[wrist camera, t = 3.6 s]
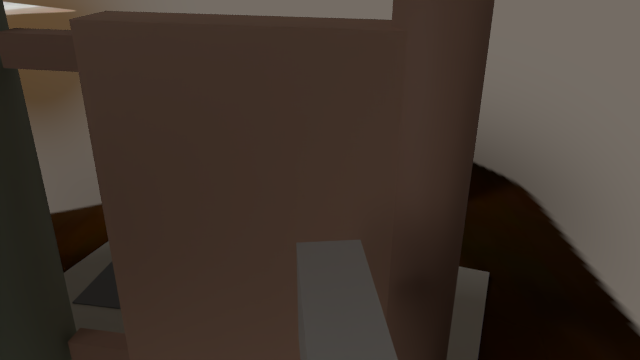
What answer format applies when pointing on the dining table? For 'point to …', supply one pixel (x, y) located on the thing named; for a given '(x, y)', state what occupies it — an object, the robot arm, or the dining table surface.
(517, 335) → the dining table surface
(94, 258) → the card
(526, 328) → the dining table surface
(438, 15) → the gate panel
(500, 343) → the dining table surface
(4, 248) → the fence post and fixed panel
